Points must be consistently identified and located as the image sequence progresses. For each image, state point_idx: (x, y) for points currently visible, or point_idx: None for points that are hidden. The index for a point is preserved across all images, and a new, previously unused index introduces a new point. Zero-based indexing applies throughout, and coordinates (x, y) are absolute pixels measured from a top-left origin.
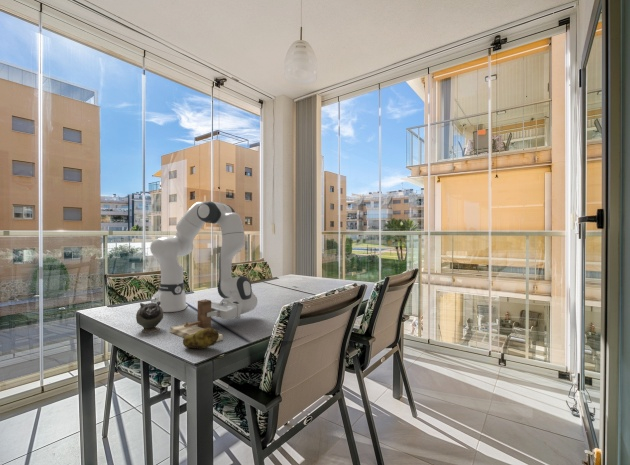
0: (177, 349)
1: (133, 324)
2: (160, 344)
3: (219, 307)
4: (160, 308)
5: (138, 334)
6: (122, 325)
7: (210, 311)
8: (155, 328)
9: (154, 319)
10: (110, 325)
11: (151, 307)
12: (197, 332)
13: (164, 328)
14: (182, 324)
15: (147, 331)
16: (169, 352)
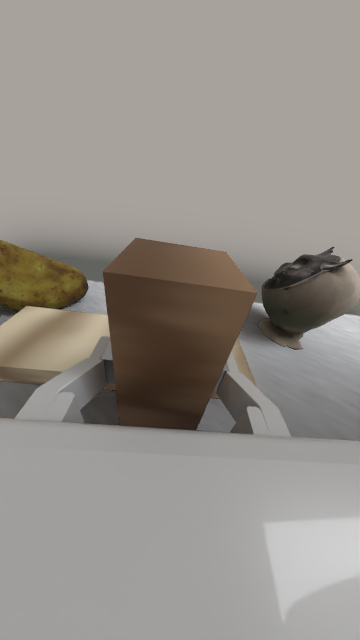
0: (97, 291)
1: (356, 337)
2: None
3: (16, 545)
4: (310, 278)
5: (255, 308)
6: (350, 324)
7: (118, 377)
8: (276, 331)
9: (263, 290)
10: (354, 316)
11: (299, 258)
12: (21, 248)
13: (281, 353)
14: (247, 365)
15: (265, 319)
16: (101, 282)
